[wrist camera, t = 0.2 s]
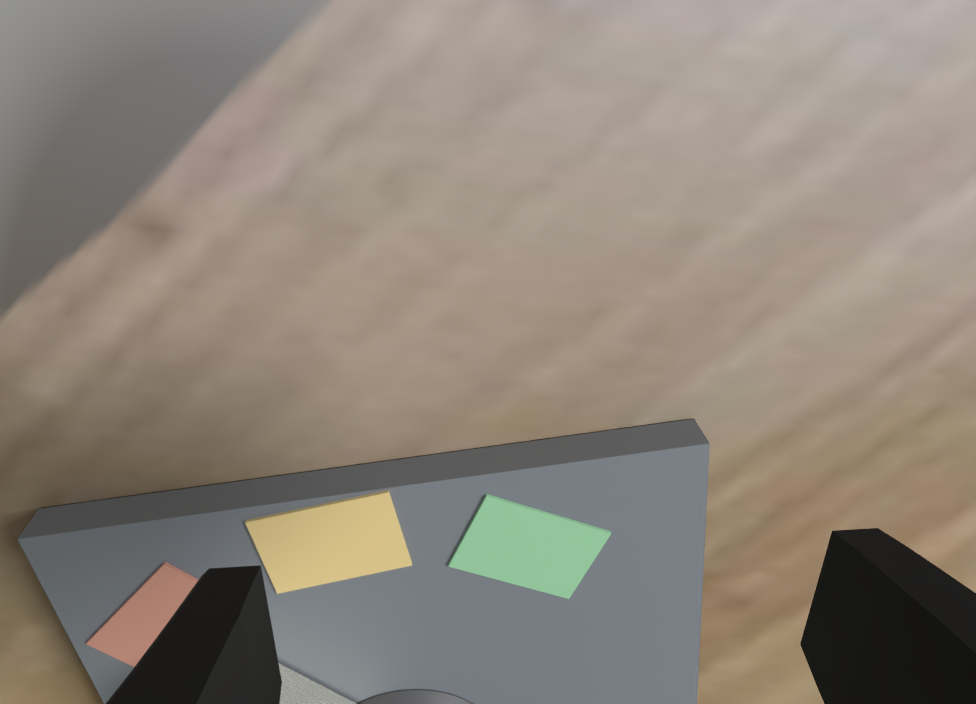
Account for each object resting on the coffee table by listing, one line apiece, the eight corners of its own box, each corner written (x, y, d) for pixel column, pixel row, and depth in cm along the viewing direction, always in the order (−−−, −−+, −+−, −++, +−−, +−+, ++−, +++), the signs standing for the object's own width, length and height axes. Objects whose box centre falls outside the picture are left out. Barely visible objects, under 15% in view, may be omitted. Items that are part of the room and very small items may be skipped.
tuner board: (681, 754, 28) (693, 789, 26) (196, 829, 27) (187, 867, 26) (694, 419, 20) (710, 445, 19) (38, 508, 20) (15, 541, 19)
